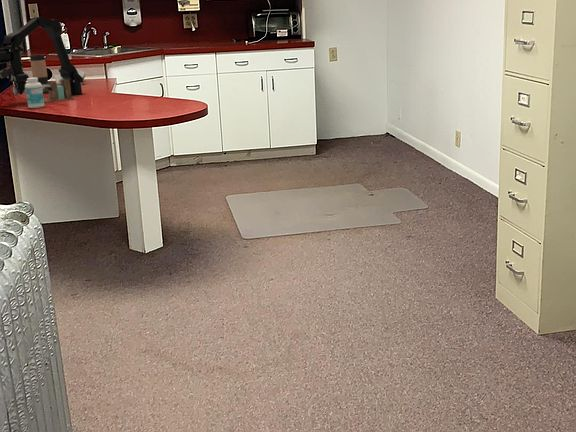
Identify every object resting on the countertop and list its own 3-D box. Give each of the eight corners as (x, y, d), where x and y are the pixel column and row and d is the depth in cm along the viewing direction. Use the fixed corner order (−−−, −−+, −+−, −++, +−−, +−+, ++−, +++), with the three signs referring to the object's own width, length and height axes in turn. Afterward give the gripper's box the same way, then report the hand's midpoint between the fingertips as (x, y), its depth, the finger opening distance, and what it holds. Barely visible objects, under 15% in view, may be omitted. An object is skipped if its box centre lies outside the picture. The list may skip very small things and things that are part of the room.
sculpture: (87, 85, 439) (85, 68, 436) (53, 87, 434) (51, 70, 431) (85, 81, 462) (83, 65, 459) (53, 83, 457) (51, 67, 454)
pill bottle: (27, 107, 354) (23, 78, 350) (43, 105, 356) (39, 76, 353) (28, 108, 347) (24, 79, 343) (45, 107, 350) (41, 78, 346)
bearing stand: (69, 97, 384) (66, 79, 381) (75, 98, 376) (72, 80, 373) (29, 101, 374) (26, 83, 371) (34, 103, 366) (32, 84, 363)
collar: (61, 97, 380) (59, 85, 378) (64, 98, 375) (63, 86, 373) (55, 97, 378) (53, 85, 376) (58, 98, 373) (57, 86, 371)
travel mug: (32, 94, 405) (26, 56, 399) (41, 92, 412) (36, 54, 406) (43, 94, 402) (38, 56, 396) (52, 92, 409) (47, 54, 403)
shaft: (52, 90, 376) (51, 81, 375) (55, 91, 372) (54, 82, 371) (13, 94, 366) (12, 85, 365) (16, 95, 363) (14, 86, 362)
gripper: (-7, 62, 365) (-2, 94, 369) (2, 64, 350) (7, 97, 354) (17, 60, 371) (22, 92, 375) (26, 61, 355) (31, 95, 360)
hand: (20, 94), depth 366 cm, fingers closed on shaft, 3 cm apart
